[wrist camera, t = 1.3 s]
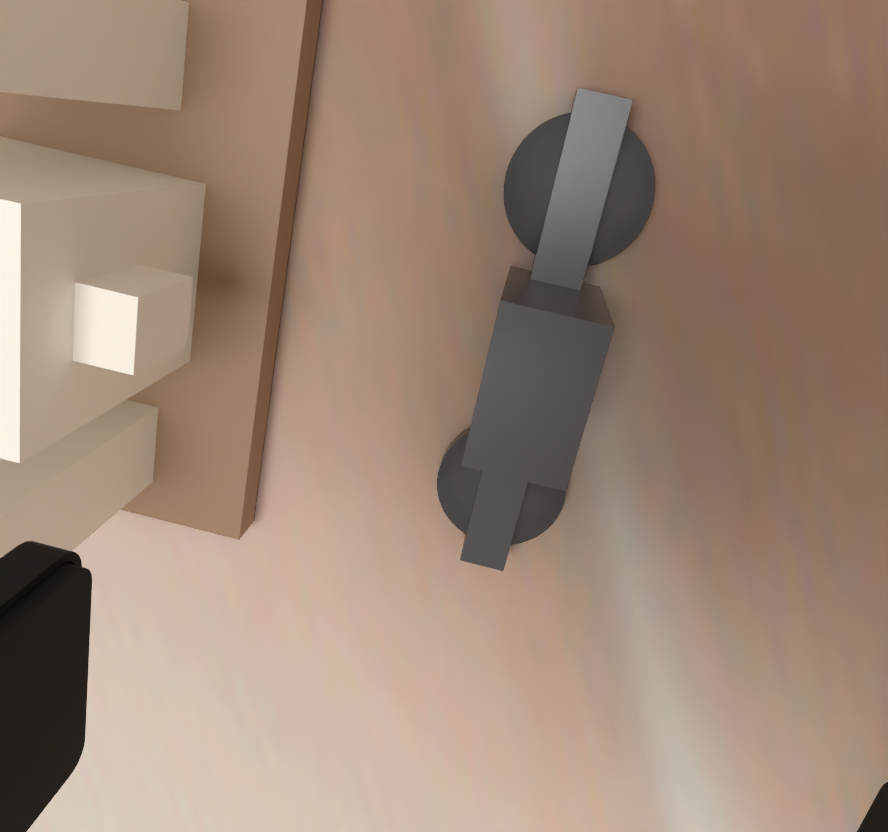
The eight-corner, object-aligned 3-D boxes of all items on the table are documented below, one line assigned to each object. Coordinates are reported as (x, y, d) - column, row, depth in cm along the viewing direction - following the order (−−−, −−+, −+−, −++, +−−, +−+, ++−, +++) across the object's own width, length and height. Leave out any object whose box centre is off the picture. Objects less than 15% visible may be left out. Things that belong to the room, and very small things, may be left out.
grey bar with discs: (676, 113, 23) (717, 102, 17) (544, 558, 29) (543, 659, 23) (528, 81, 23) (522, 59, 18) (426, 528, 29) (397, 621, 23)
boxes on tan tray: (325, -20, 23) (158, -144, 13) (253, 521, 30) (108, 706, 20) (-46, -99, 23) (-472, -276, 14) (-34, 448, 30) (-313, 593, 20)
